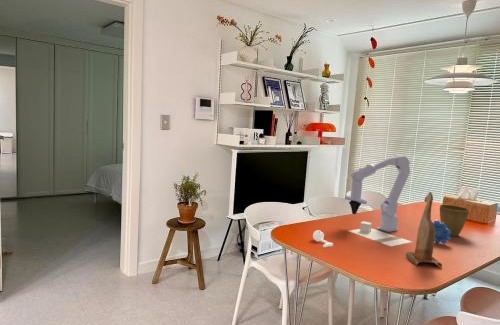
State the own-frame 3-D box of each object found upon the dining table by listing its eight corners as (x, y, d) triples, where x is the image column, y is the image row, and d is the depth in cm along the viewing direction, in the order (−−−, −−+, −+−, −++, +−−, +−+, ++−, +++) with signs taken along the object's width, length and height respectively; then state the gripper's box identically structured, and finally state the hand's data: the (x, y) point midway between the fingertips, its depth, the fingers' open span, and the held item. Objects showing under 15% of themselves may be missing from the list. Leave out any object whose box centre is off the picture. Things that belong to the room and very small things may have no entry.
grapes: (424, 242, 185) (426, 220, 183) (425, 239, 190) (428, 217, 189) (449, 247, 178) (452, 224, 177) (450, 244, 184) (452, 222, 183)
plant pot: (433, 233, 202) (436, 206, 201) (440, 229, 213) (443, 203, 212) (462, 240, 192) (466, 212, 191) (468, 235, 203) (472, 208, 202)
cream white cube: (368, 233, 195) (369, 224, 195) (359, 231, 198) (360, 222, 197) (371, 231, 200) (371, 222, 199) (362, 229, 202) (363, 221, 202)
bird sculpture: (428, 258, 161) (435, 189, 158) (442, 268, 150) (451, 194, 146) (404, 257, 161) (411, 188, 158) (417, 267, 149) (425, 193, 146)
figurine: (318, 228, 181) (336, 236, 171) (317, 238, 181) (335, 246, 172) (307, 230, 176) (325, 238, 166) (306, 240, 177) (324, 249, 167)
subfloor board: (368, 228, 208) (368, 227, 208) (412, 242, 184) (412, 241, 184) (347, 231, 198) (347, 230, 198) (390, 247, 175) (390, 246, 175)
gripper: (342, 189, 208) (340, 211, 209) (361, 193, 196) (359, 217, 197) (350, 188, 212) (348, 210, 213) (370, 193, 200) (367, 216, 201)
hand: (354, 213), depth 206 cm, fingers closed
